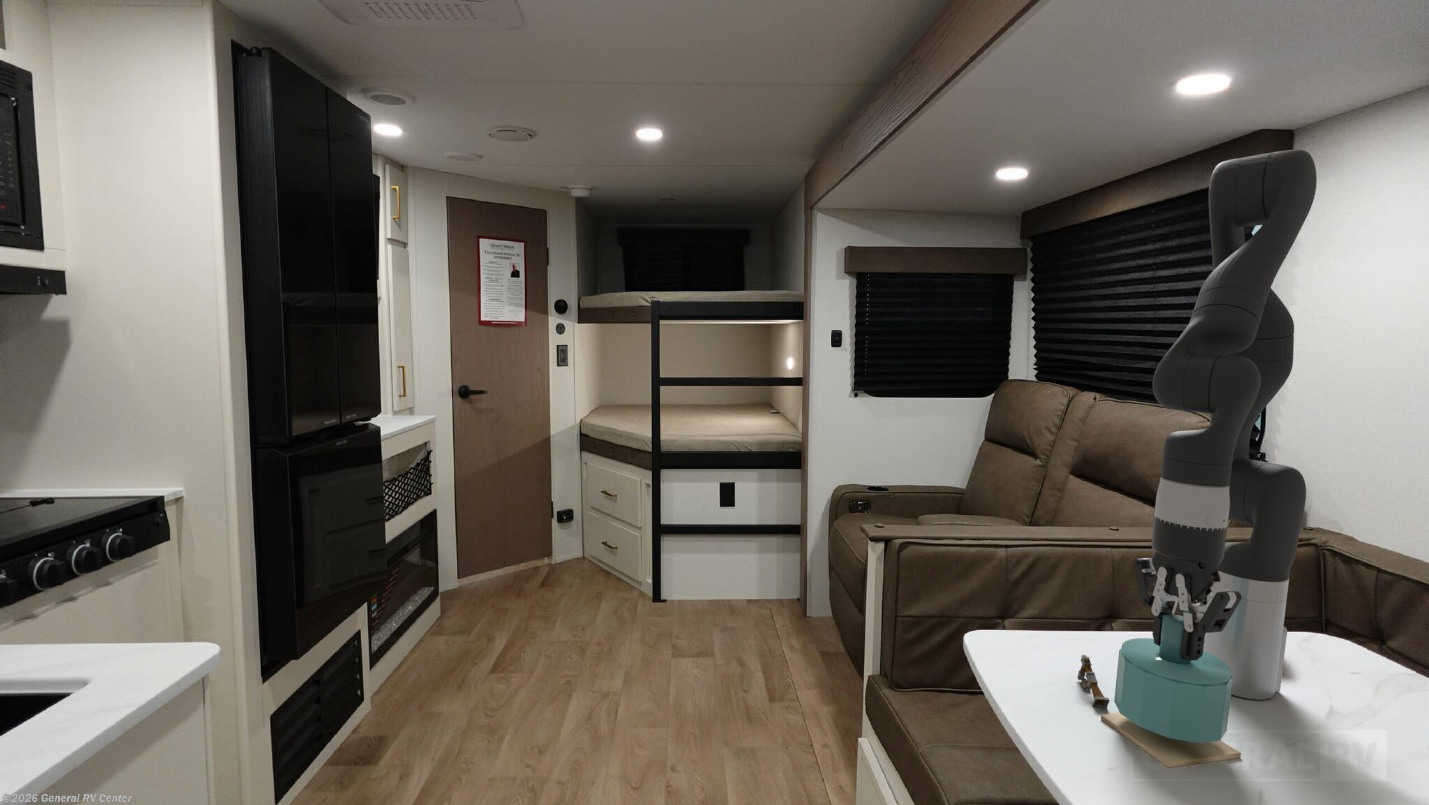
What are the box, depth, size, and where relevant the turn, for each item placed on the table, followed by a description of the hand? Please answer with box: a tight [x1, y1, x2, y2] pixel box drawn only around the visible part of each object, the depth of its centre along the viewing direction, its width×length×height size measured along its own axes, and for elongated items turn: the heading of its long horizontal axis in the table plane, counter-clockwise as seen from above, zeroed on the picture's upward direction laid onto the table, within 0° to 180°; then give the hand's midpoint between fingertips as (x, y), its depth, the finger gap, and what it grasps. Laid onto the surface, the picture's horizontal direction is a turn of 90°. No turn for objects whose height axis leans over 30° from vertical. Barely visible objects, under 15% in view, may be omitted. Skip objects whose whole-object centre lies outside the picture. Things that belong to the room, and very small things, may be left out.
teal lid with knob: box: [1113, 614, 1233, 743], centre depth 90 cm, size 12×12×13 cm
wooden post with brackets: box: [1076, 654, 1110, 709], centre depth 102 cm, size 2×8×4 cm, turn 173°
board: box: [1100, 712, 1242, 768], centre depth 91 cm, size 11×11×1 cm
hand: (1175, 651), depth 90 cm, fingers closed on teal lid with knob, 3 cm apart
